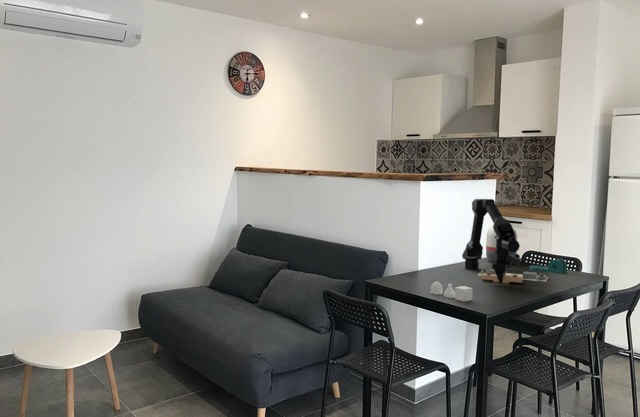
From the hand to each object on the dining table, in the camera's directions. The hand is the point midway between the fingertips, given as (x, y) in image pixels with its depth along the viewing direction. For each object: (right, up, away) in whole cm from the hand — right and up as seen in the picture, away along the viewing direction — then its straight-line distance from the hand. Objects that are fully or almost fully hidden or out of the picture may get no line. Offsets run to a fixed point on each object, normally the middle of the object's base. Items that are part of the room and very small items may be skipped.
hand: (501, 281), depth 250 cm
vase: (+20, +3, +58) cm, 62 cm away
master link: (0, -1, 0) cm, 1 cm away
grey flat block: (+19, +1, +8) cm, 21 cm away
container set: (-31, -3, -25) cm, 39 cm away
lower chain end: (+1, +1, +17) cm, 17 cm away
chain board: (+10, 0, +13) cm, 16 cm away
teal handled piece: (+33, +1, +28) cm, 43 cm away
